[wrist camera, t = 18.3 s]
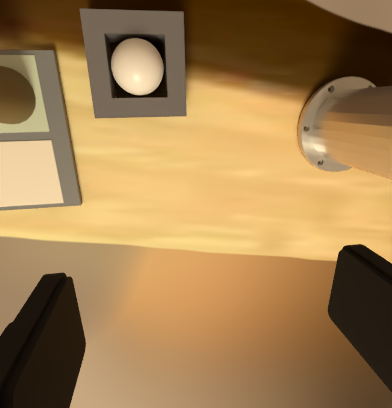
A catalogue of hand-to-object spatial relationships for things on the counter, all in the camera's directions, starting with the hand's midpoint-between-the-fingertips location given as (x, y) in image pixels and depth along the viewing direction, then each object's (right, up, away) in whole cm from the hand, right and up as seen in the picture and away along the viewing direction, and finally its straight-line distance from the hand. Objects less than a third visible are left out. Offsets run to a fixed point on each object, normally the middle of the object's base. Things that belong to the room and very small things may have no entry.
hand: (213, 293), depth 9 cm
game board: (-22, +11, +23) cm, 34 cm away
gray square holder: (-7, +19, +22) cm, 30 cm away
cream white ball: (-7, +19, +22) cm, 30 cm away
